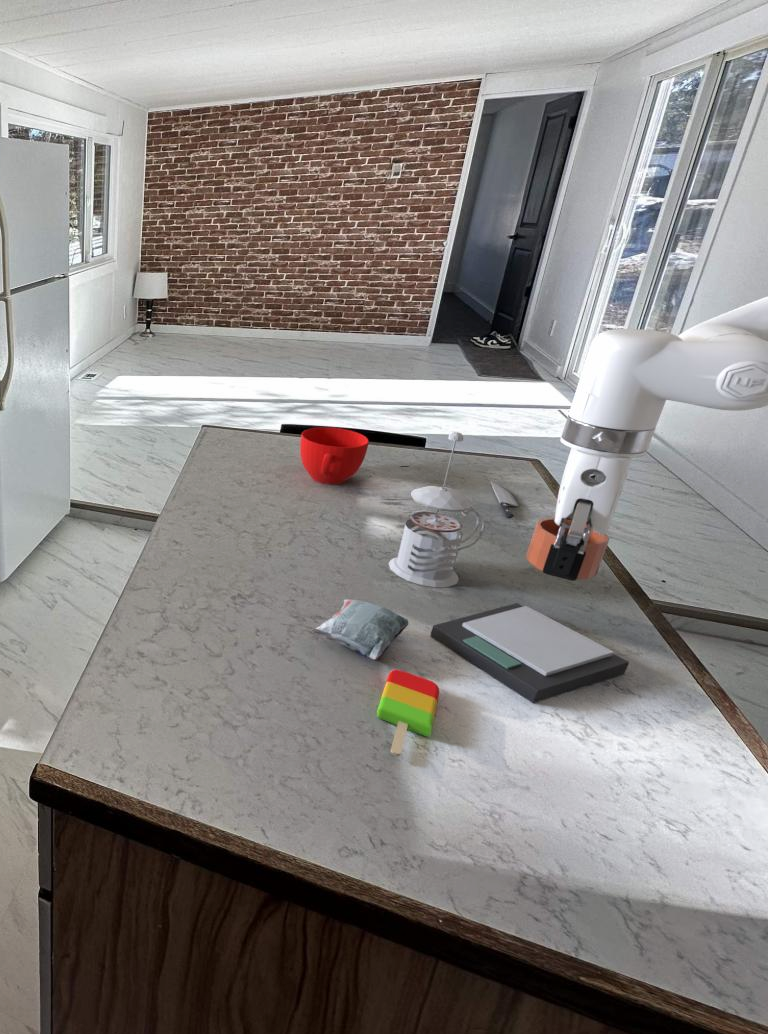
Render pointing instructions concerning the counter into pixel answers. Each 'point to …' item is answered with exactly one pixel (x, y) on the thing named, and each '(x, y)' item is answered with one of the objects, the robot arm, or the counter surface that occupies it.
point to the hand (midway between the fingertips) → (561, 562)
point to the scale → (529, 651)
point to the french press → (422, 560)
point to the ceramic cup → (332, 453)
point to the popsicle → (408, 705)
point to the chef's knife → (504, 499)
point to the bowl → (547, 536)
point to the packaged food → (363, 628)
